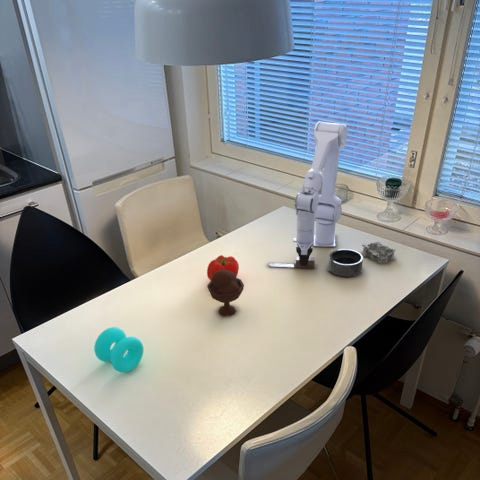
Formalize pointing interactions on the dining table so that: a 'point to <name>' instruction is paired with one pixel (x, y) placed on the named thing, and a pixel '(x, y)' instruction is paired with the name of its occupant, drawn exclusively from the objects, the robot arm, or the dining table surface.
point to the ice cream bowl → (225, 290)
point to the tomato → (222, 265)
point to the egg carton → (378, 252)
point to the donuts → (118, 349)
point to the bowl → (345, 262)
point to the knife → (296, 264)
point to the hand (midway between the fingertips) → (303, 263)
